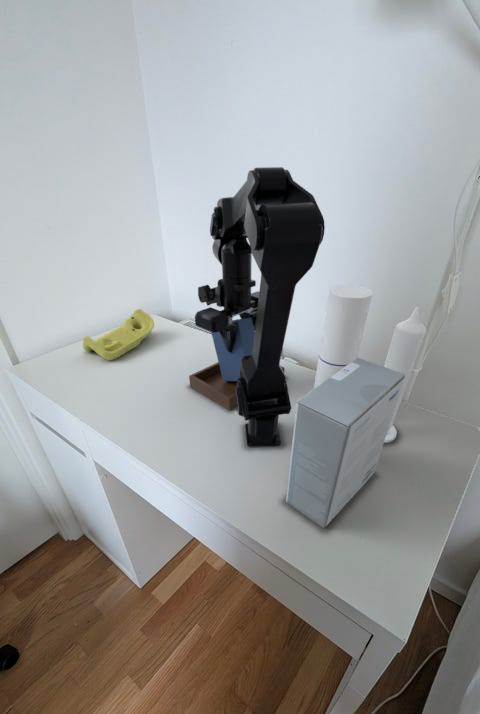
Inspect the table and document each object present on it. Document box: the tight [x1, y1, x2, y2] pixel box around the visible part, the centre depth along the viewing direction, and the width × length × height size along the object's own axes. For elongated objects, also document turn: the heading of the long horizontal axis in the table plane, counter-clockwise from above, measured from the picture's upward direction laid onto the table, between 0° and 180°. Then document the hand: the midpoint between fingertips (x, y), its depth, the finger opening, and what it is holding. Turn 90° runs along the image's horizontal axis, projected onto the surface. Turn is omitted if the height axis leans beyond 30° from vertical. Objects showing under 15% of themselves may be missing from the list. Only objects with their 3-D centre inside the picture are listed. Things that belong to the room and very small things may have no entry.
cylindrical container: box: [313, 284, 373, 389], centre depth 65 cm, size 7×7×25 cm
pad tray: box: [188, 362, 286, 411], centre depth 81 cm, size 19×14×3 cm
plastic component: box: [82, 308, 155, 361], centre depth 97 cm, size 20×7×10 cm
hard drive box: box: [285, 357, 405, 529], centre depth 50 cm, size 16×8×20 cm, turn 136°
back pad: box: [210, 317, 255, 381], centre depth 77 cm, size 9×4×13 cm, turn 50°
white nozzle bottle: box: [383, 306, 427, 444], centre depth 60 cm, size 7×7×25 cm
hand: (237, 348), depth 76 cm, fingers closed on back pad, 5 cm apart
